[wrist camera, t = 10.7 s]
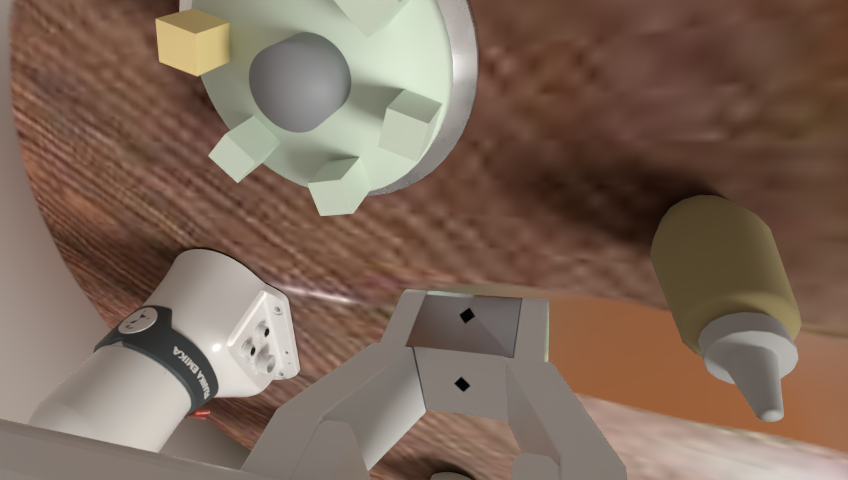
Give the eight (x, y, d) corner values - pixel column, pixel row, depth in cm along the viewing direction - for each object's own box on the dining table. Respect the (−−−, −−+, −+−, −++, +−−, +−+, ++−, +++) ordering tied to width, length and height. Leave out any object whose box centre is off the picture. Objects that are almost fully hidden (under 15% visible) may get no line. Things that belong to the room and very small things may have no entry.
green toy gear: (494, -32, 30) (477, -19, 25) (414, 214, 43) (393, 253, 38) (205, -138, 31) (135, -145, 26) (211, 134, 44) (165, 162, 39)
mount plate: (488, 191, 41) (484, 207, 39) (258, 190, 48) (243, 203, 46) (464, -160, 28) (454, -165, 26) (152, -91, 35) (123, -91, 33)
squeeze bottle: (755, 260, 38) (857, 466, 24) (647, 267, 41) (682, 455, 27) (761, 172, 34) (887, 359, 20) (641, 188, 37) (678, 360, 23)
